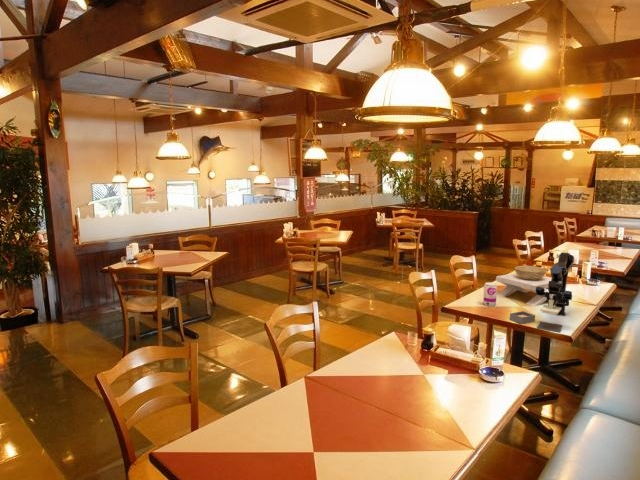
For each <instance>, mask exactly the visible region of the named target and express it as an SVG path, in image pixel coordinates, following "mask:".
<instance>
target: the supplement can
mask: <svg viewBox="0 0 640 480" xmlns="http://www.w3.org/2000/svg"><path fill="white" fill-rule="evenodd" d="M497 291H498V285H497V283H495V282H489V281H488V282H485V283H484V285H483V301H482V304H483V305H484V306H486V305H487V306H486V307H495V306H497V293H498V292H497Z"/></svg>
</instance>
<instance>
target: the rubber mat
mask: <svg viewBox="0 0 640 480" xmlns="http://www.w3.org/2000/svg"><path fill="white" fill-rule="evenodd" d="M562 328H563V324H558V323H555V322H554V323H553V322H546V321H542V320H541V321H539V323H538V325H537V326H536V329H539V330H543V331H548V332H555V333H561V331H562Z"/></svg>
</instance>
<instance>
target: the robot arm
mask: <svg viewBox="0 0 640 480" xmlns="http://www.w3.org/2000/svg"><path fill="white" fill-rule="evenodd" d="M557 259H558V261H557V262H554V264H553V266H551V267H550V268H549V271H550V277H551V278H552V279H551V281H549V284H548V289H549V290H547V289H545V290H544V287H536V293H535V294H536V295H541V296H543V295H544V297H546V298H547V300H546V302H547V305H549V300H550V294H553V298H552V300H554V303H553V306H555V307H561V310H560V312H559V313H558V314H557V315H560V316H566V313H567V312H566V307H569V306H570V301H572V300H573V292H572V291H570V290H566V288H567V284H568V283H567V282H568V278H569V277H568V276H569V270H571V268H572V267H573V264H574V263H575V256H574V255H572V254H571V253H569V252H560V254H559V255H558V258H557Z"/></svg>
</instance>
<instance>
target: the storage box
mask: <svg viewBox="0 0 640 480" xmlns="http://www.w3.org/2000/svg"><path fill="white" fill-rule="evenodd" d="M509 320H510V321H512V322H515V323H517V324H520V325H524V324H529V323H534V322H535V321H536V315H535V314H532V313H530V312H526V311H524V310H522V311H516V312H515V311H514V312H511V313H509Z"/></svg>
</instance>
